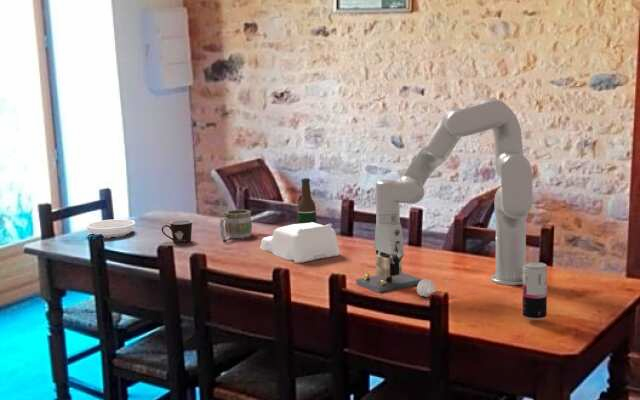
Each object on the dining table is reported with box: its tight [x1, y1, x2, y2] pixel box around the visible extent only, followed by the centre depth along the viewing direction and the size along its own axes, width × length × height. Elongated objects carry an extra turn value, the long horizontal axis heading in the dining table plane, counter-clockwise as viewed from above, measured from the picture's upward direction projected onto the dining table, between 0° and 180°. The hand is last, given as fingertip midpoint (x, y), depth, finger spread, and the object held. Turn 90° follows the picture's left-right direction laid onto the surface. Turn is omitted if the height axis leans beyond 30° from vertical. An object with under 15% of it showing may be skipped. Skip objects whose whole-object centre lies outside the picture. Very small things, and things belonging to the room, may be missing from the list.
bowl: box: [86, 218, 136, 239], centre depth 375 cm, size 20×20×7 cm
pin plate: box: [355, 272, 423, 293], centre depth 294 cm, size 13×17×9 cm
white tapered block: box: [259, 222, 340, 264], centre depth 338 cm, size 19×30×13 cm, turn 33°
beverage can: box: [522, 261, 548, 320], centre depth 255 cm, size 6×6×15 cm
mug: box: [219, 209, 253, 241], centre depth 364 cm, size 16×11×12 cm
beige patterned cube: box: [375, 254, 403, 278], centre depth 294 cm, size 6×6×6 cm
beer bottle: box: [297, 177, 317, 224], centre depth 369 cm, size 8×8×24 cm
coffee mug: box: [161, 219, 193, 244], centre depth 360 cm, size 12×9×10 cm
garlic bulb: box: [416, 278, 436, 298], centre depth 278 cm, size 6×6×5 cm
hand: (388, 272), depth 294 cm, fingers closed on beige patterned cube, 5 cm apart
